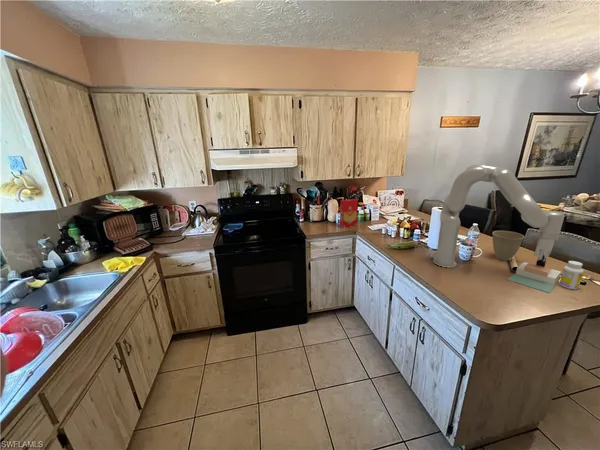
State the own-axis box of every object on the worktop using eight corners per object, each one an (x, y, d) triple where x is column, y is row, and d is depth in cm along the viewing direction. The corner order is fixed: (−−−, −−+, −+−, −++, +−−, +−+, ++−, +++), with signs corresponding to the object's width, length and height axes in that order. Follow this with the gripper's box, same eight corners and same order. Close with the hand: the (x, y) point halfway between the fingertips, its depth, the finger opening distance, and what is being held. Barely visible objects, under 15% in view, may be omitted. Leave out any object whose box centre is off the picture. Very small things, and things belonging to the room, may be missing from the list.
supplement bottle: (575, 284, 124) (582, 261, 120) (580, 291, 119) (588, 267, 115) (556, 281, 127) (563, 258, 124) (561, 287, 122) (568, 264, 118)
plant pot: (487, 252, 165) (492, 229, 160) (516, 256, 157) (522, 232, 152) (488, 260, 153) (493, 236, 149) (520, 265, 145) (526, 240, 140)
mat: (507, 280, 131) (507, 279, 131) (514, 274, 136) (514, 273, 136) (549, 293, 118) (549, 292, 118) (554, 286, 123) (554, 285, 123)
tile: (523, 270, 132) (524, 266, 131) (527, 267, 135) (528, 263, 134) (546, 277, 125) (547, 272, 124) (550, 273, 128) (551, 269, 127)
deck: (515, 274, 136) (517, 267, 135) (522, 268, 142) (524, 262, 141) (553, 285, 124) (555, 278, 123) (559, 278, 130) (561, 271, 129)
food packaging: (342, 228, 227) (343, 201, 219) (340, 226, 232) (340, 200, 224) (356, 226, 231) (357, 199, 224) (353, 224, 236) (354, 198, 229)
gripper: (542, 230, 134) (534, 261, 139) (534, 236, 126) (526, 269, 131) (562, 233, 128) (553, 265, 133) (554, 240, 120) (545, 274, 125)
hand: (539, 267), depth 132 cm, fingers closed
